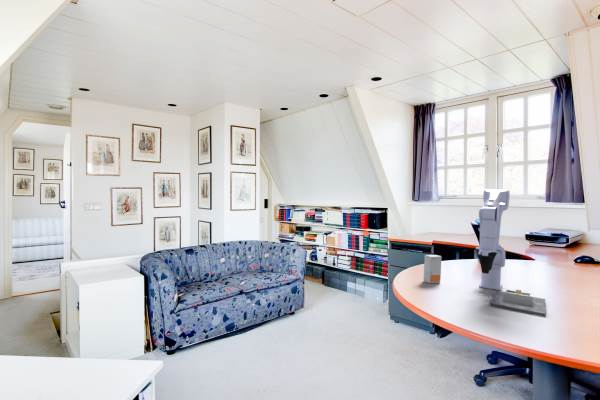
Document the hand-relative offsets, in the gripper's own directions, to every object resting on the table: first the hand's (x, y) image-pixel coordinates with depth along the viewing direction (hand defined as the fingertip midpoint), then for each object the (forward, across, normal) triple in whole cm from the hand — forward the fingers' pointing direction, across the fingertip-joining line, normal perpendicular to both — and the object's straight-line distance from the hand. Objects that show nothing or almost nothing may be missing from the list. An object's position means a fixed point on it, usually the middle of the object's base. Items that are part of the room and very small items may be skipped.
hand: (486, 271), depth 131 cm
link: (+8, +4, +11) cm, 14 cm away
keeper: (+9, +4, +11) cm, 15 cm away
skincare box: (+10, -6, -22) cm, 25 cm away
